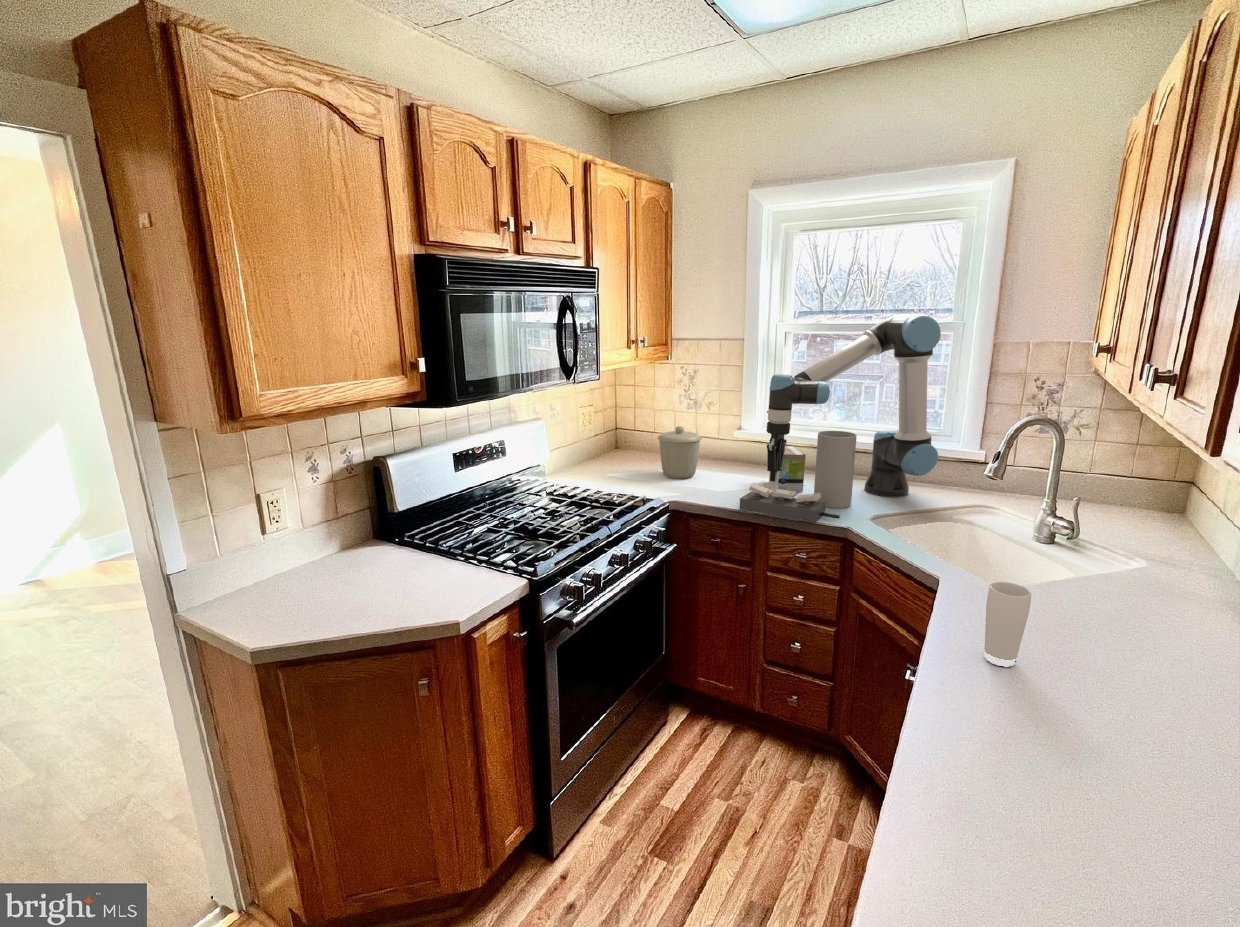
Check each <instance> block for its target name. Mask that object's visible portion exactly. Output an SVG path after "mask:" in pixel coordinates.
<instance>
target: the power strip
mask: <svg viewBox="0 0 1240 927" xmlns="http://www.w3.org/2000/svg"><path fill="white" fill-rule="evenodd" d="M796 498H797V497H794V498H793V499H789V498H784V497H775V496H772V495H771V496H769V497H768V498H767V497H764V496H762V495H760V493H755V492H753V491H749V492H747V493H746V494H744V495H742V496H741V497H739V510H741V511H747V512H751V513H752V512H754V513H757V514H758V513H759V514H765V515H769V516H775V517H782V518H788V519H794V520H797V521H804V522H811V523H817V522H818V521H819V520H820V519H821V518H822V517H825V518H832V519H836V520H840V517H841V515H840V514H834V513H828V512H826V511H825V510H826V507H825V503H824V502H817V501H810V502H809V501H805V500H804V502H796Z"/></svg>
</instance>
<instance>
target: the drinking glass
mask: <svg viewBox="0 0 1240 927" xmlns="http://www.w3.org/2000/svg"><path fill="white" fill-rule="evenodd" d="M1031 601H1032V592H1031V590H1029V589H1028V588H1026V587H1024V586H1023V585H1019V584H1017V583H1014V582H1010V581H1009V582H1007V581H995V582H994V581H993V582H992V583H990V584H989V587H988V592H987V598H986V606H985V627H984V628H985V633H984V649H985V652H986V653H987V654H990V655H991V656H993V657H996V658H999V659H1004V660H1013V659H1016V658H1017V659H1018V654H1019V651H1020V650H1019V649H1020V647H1021V643H1022V640H1023V635H1024V632H1025V628H1026V625H1027V622H1028V617H1029V614H1030V608H1031V603H1032V602H1031Z"/></svg>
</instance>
